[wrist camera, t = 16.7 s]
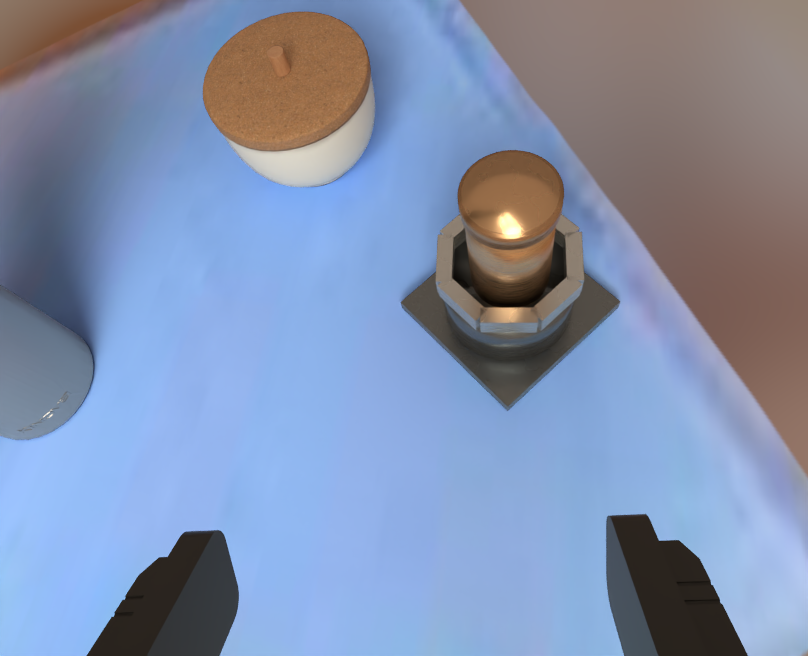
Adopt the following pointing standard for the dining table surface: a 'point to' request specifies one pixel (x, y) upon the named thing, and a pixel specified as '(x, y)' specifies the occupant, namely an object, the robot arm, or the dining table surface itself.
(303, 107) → the lidded bowl
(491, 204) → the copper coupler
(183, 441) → the dining table surface
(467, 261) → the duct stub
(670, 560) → the robot arm
